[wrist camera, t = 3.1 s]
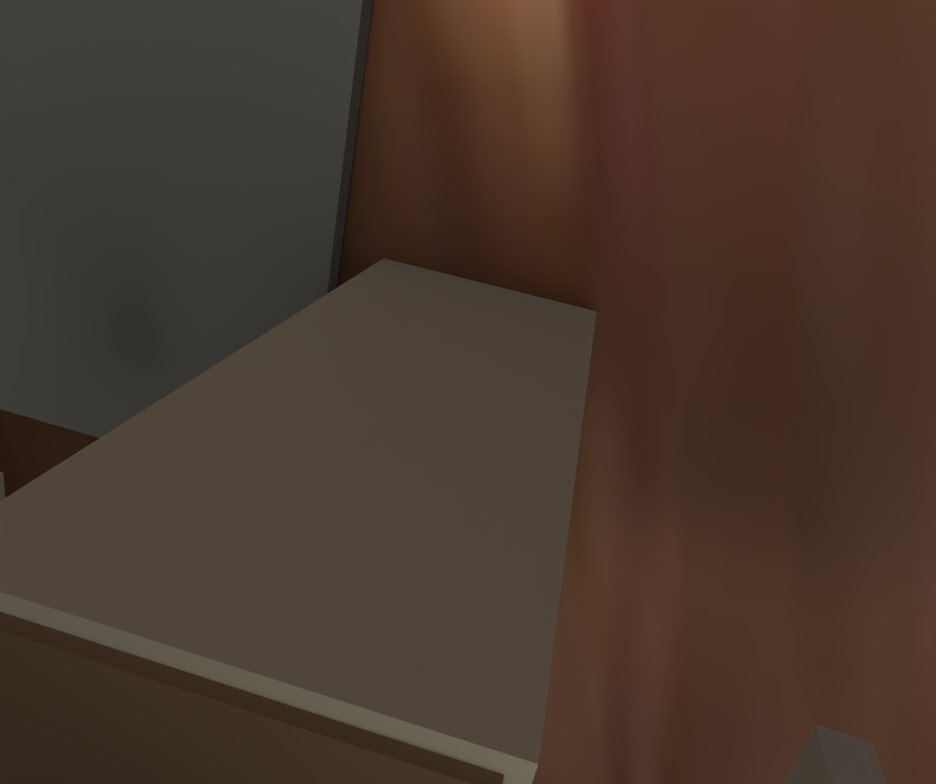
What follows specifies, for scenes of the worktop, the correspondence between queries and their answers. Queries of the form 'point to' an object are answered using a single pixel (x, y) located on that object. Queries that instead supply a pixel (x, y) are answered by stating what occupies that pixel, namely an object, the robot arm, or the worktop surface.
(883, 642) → the worktop surface
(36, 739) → the block
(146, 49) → the mat
